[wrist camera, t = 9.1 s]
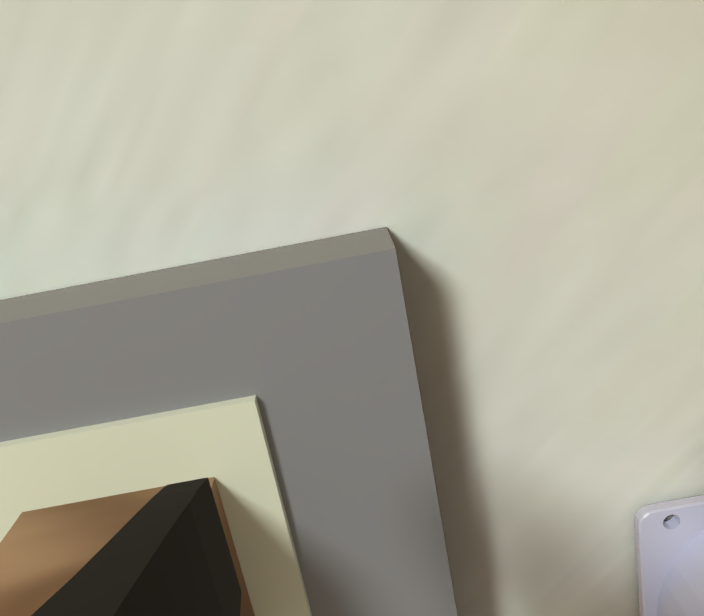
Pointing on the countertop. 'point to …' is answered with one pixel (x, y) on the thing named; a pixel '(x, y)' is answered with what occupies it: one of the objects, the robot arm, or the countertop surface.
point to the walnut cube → (74, 547)
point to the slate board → (242, 416)
